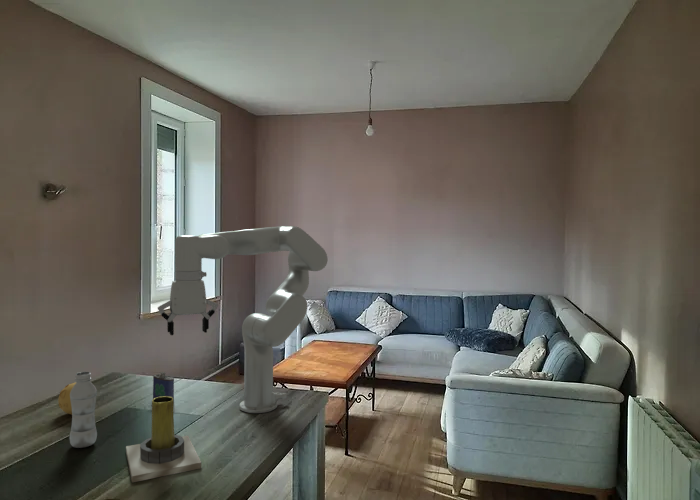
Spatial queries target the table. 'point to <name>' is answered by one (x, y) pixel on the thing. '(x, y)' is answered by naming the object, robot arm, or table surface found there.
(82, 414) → the plastic bottle
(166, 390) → the flask
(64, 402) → the stress ball
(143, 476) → the plate
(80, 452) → the table surface
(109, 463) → the table surface
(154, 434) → the vase
